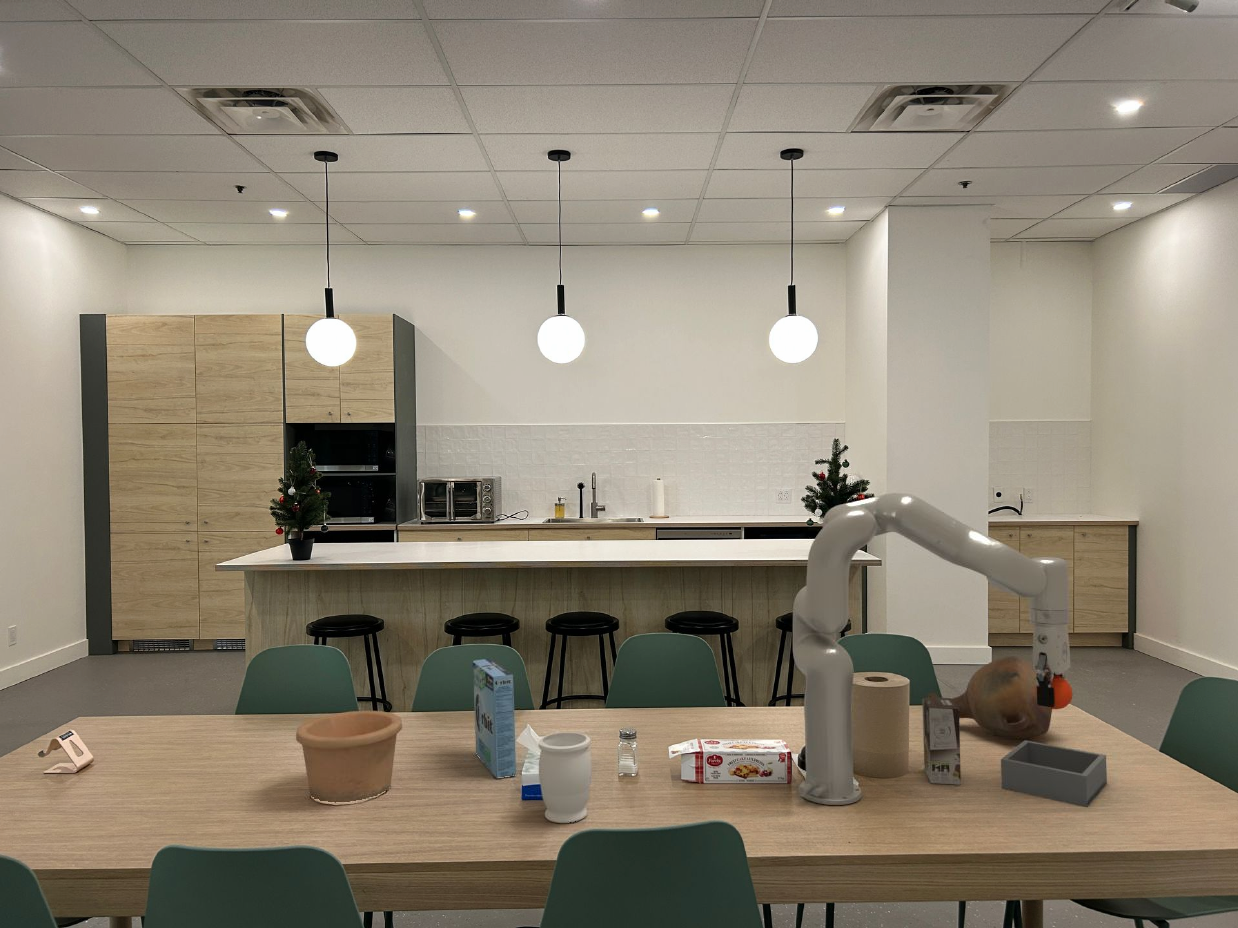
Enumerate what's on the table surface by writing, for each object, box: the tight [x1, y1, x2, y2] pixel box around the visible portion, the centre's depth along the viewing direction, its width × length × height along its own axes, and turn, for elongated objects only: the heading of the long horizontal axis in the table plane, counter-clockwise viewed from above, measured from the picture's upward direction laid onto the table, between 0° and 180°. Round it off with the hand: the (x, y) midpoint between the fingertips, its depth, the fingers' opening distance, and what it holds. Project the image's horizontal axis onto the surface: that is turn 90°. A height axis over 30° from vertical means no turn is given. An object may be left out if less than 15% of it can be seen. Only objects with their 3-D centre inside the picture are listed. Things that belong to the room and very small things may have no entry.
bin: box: [1000, 739, 1108, 808], centre depth 177 cm, size 16×16×6 cm
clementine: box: [1030, 675, 1073, 710], centre depth 177 cm, size 8×7×7 cm
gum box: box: [472, 658, 517, 779], centre depth 198 cm, size 20×5×23 cm, turn 23°
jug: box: [927, 656, 1053, 740], centre depth 213 cm, size 20×20×30 cm
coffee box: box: [921, 697, 962, 786], centre depth 184 cm, size 9×6×16 cm
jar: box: [537, 731, 593, 824], centre depth 168 cm, size 11×10×15 cm
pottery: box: [295, 710, 403, 803], centre depth 184 cm, size 22×22×14 cm
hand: (1051, 701), depth 177 cm, fingers closed on clementine, 7 cm apart
